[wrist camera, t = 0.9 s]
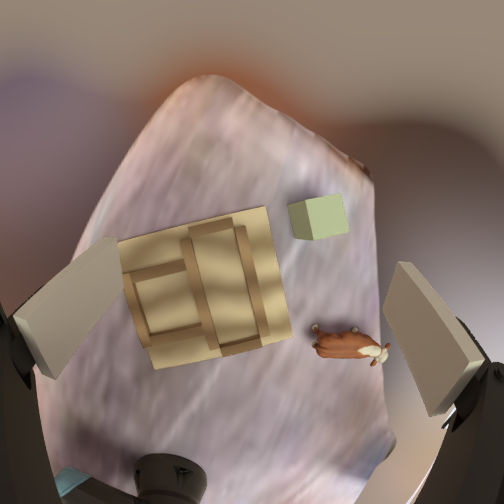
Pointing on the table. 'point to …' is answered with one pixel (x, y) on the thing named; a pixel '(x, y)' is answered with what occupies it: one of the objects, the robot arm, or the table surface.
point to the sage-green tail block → (318, 217)
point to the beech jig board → (205, 289)
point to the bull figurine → (348, 345)
